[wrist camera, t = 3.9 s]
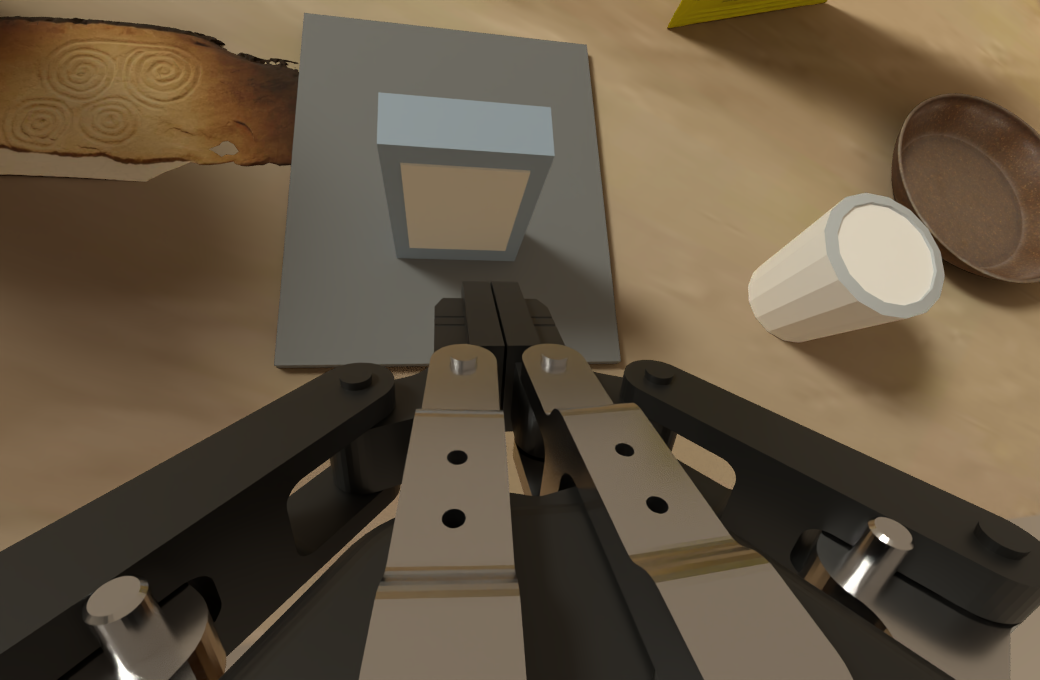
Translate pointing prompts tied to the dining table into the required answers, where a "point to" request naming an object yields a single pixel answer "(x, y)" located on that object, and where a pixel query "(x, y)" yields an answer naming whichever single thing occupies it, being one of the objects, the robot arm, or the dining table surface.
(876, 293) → the white tapered cup
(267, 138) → the parchment
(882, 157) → the dining table surface
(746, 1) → the food package
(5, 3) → the dining table surface
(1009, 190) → the saucer
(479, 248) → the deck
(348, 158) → the mat
